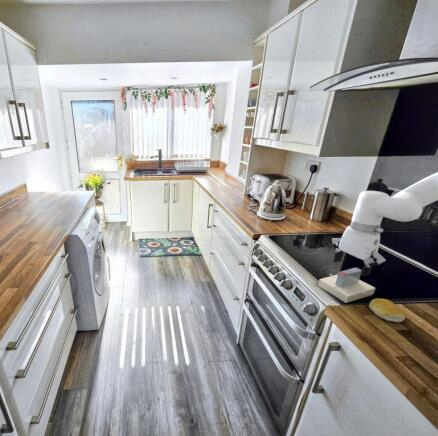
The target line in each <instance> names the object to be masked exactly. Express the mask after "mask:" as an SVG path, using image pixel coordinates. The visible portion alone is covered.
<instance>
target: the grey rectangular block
mask: <svg viewBox="0 0 438 436" xmlns="http://www.w3.org/2000/svg"><path fill="white" fill-rule="evenodd" d="M361 272H362V269H360V268H358V267H352V268H349V269H344V270H340V271H338V273H337V274H338V276H337V280H336V283H335V284H336V285H337V286H339V287H344V286H348V285H351V284H355V283H358V281H359V280H360V278H361Z"/></svg>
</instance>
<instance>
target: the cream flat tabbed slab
mask: <svg viewBox="0 0 438 436" xmlns="http://www.w3.org/2000/svg"><path fill="white" fill-rule="evenodd" d="M329 275H330V276H327V277H323V278H320V279H319V280H318V283H317V286H318V287H320V288H321V289H322V290H324V291H326V292H328V293H329V294H331V295H332V296H334V297H336V298H337V299H339V300H340V301H342V302H344V303H345V304H347V303H350V302H354V301H357V300H360V299H363V298H367V297H371V296H373V295H374V293H375V291H376V287H375V286H372V285H371V284H369V283H367V282H365V281H362V280H361V279H359V281H358V283H355V284H351V285H348V286H344V287H339V286H337V285H336V284H335V283H336V280H337V276H338V273H337V274H332V273H329Z"/></svg>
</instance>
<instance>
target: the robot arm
mask: <svg viewBox="0 0 438 436" xmlns="http://www.w3.org/2000/svg"><path fill="white" fill-rule="evenodd" d="M437 201H438V171H437V172H436V173H433V174H431V175H429V176H427V177H425V178H423V179H421V180H419V181H416V182H415V183H413V184H411V185H409V186H408V187H406V188H404V189H402V190H401V191H399V192H397V193H395V194H394V195H393V196H390V195H389V194H388V193H386V192H383V191H379V190H378V191H377V190H364V191H362V192H360V193H359V195H358V198H357V201H356V205H355V207H354V211H353V214H352V217H351V221H350V224H349V225H348V226H347V227H346V229H345V230H344V232H343V234H342V235H341V237H338V238H337V237H335V238H331V242H332V243H331V244H332V247H333V249H334V257H333V262H334V263H339V262H342V261H343V260H342V259H343V257H344V253H346V254H348V255H350V256H353V257H355V258H357V259H360V260H362V261H363V262H364V265H363V266H362V269H361V270H362V272H361V275H360V277H361V276H362V277H366V276H369V275H370V274H371V273H372V270H373V267H377V266H381V265H382V264H383V263H385V262H386V261H387V260H386V259H385V258H384V256H382V254H380V253H379V252H378V251H379V247H380V242H381V233H383V232H384V228H382V227H381V226H382V225H381V223H382V221H383V218H387V219H390V220H393V221H397V222H404V223H405V222H412V221H415V220H417V219H418V218H419V217H420V216H421V215H422V213H423V208H424V207H426V206H428V205H430V204H433V203H435V202H437ZM374 259H375V261H374Z"/></svg>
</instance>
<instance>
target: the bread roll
mask: <svg viewBox="0 0 438 436" xmlns="http://www.w3.org/2000/svg"><path fill="white" fill-rule="evenodd" d="M368 307H369V309H370V311H371V312H373V313H374V315H376V316H377V317H379V318H381V319H383V320H384V321H385V320H386V321H388V322H394V323H401V322H404V321H405V319H406V318H407V316H406V313H405V312H404V311H403V310H402V309H401V308H400V307H398V306H397V304H395V302H393V301H391V300H389V299H385V298H374V299H372V300H371V301H370V302H369V304H368Z"/></svg>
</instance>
